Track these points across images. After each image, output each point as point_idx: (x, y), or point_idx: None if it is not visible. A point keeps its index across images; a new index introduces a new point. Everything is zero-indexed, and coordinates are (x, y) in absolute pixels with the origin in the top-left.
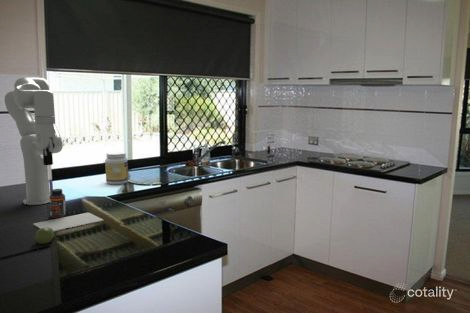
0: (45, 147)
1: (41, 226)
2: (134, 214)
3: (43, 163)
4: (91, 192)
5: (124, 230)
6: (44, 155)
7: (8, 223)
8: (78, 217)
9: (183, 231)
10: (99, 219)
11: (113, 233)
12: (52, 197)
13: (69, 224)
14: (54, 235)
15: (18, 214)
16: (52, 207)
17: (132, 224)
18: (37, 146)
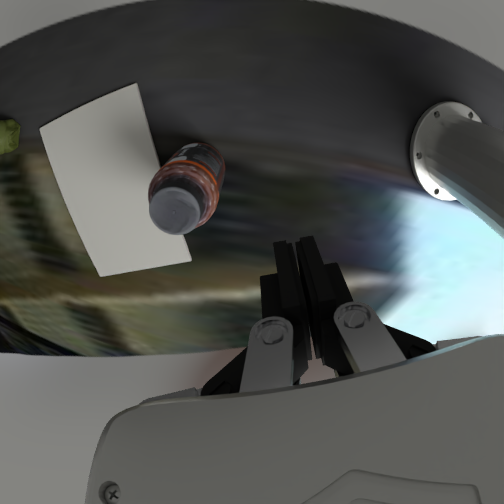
0: (106, 425)
1: (92, 110)
2: (136, 339)
3: None
4: (434, 307)
5: (33, 288)
6: (329, 312)
7: (199, 5)
8: (144, 224)
9: (29, 348)
10: (105, 269)
11: (19, 267)
12: (155, 175)
13: (82, 191)
14: (7, 152)
15: (316, 43)
16: (169, 159)
17: (65, 312)
18: (478, 349)
